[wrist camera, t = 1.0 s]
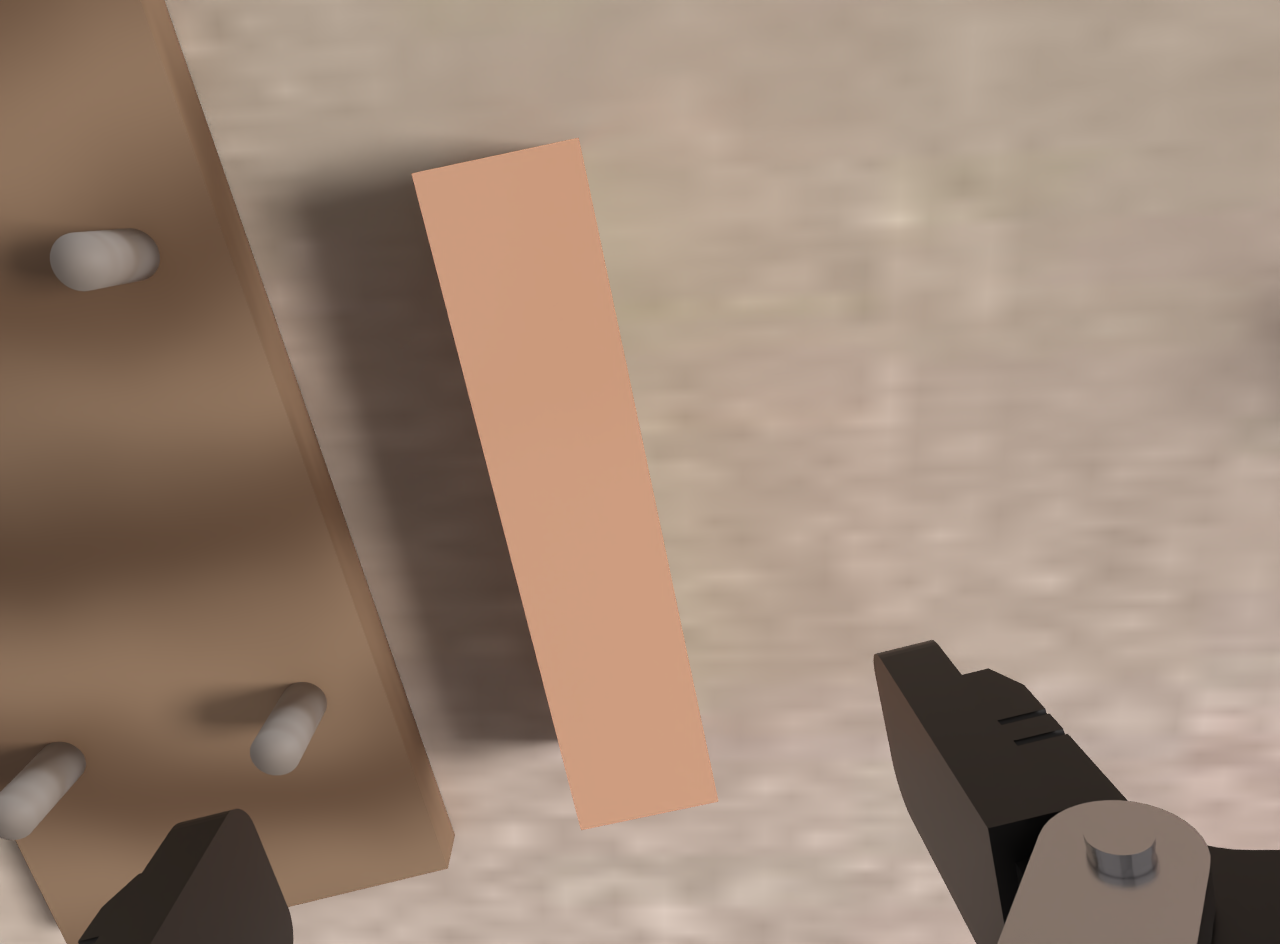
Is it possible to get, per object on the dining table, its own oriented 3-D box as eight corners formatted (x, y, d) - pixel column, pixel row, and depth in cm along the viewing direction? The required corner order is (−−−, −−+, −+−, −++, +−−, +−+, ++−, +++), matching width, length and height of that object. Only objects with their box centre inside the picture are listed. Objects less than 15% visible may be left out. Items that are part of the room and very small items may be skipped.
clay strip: (442, 177, 24) (411, 173, 20) (580, 147, 24) (578, 137, 20) (582, 734, 29) (581, 830, 25) (699, 710, 29) (718, 801, 25)
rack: (-303, 87, 23) (-483, 66, 19) (153, -32, 23) (64, -77, 19) (99, 921, 29) (25, 1030, 26) (454, 835, 29) (434, 932, 25)
